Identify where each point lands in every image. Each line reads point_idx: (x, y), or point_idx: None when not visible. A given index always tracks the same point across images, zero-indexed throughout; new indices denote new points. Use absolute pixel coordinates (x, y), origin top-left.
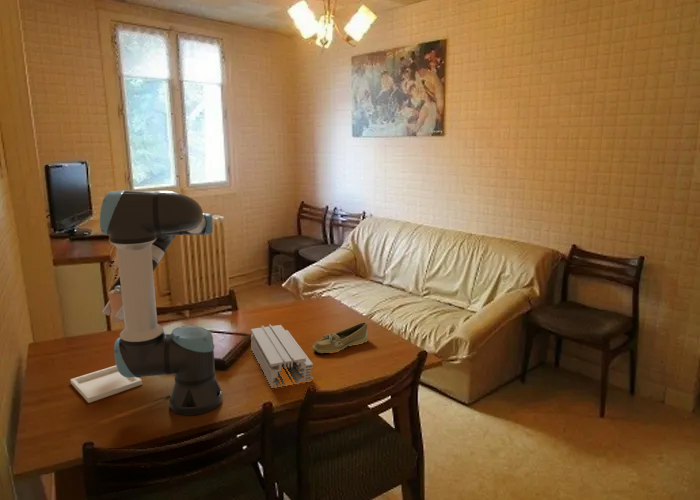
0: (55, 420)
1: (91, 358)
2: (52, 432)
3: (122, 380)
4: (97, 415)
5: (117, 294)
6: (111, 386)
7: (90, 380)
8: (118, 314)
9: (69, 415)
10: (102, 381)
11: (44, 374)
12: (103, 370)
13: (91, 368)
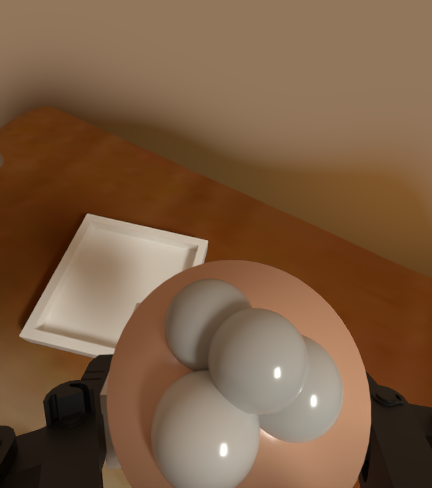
0: (109, 174)
1: None
2: (79, 156)
3: (100, 322)
4: (43, 213)
5: (162, 295)
6: (102, 286)
7: None
8: (133, 312)
9: (99, 191)
10: (147, 289)
11: (316, 250)
12: None
13: None
